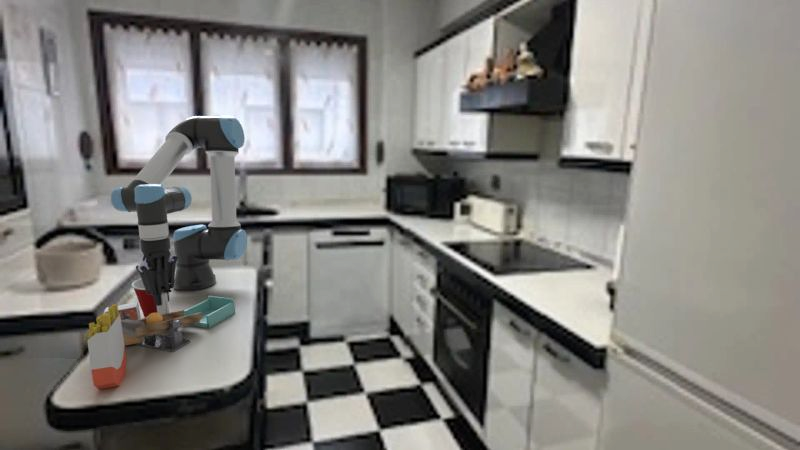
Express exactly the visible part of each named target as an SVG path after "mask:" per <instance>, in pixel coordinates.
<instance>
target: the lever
mask: <svg viewBox="0 0 800 450" xmlns="http://www.w3.org/2000/svg"><path fill="white" fill-rule="evenodd" d="M184 311H185V309H180V310H176V311H172V312H171V311H170V312H169V313H166V314H162V317H163V321H162V322H158V323H154V324H150V325H147V323H146V318H145V317H143V318H144V319H143V318H141V319H139V320H129V319H125V320H121V324H122V331H123V338H128V339H133V340H136V339H140V338H143V339H145V338H144V337H147V336H151V335H155V334H157V335H159V334H162V333H165V332H170V327H169V323H171V322H173V321H175V320H180V325H181V328H183V327H187V326H191V324H195V323H199V322H200V319H202V312H200V313H195V314H191V315H187V316H184Z"/></svg>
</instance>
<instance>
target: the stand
mask: <svg viewBox="0 0 800 450" xmlns="http://www.w3.org/2000/svg"><path fill="white" fill-rule="evenodd" d="M144 318H147V317H143V318H142V319H144ZM169 327H170V330H169V334H170V335H169V336H168V335H162V334H155V335H151V336H147V337H144V338H143V342H141V343H136V346H139V347H146V348H150V349H154V350H155V349H156V350H161V351H167V352H172V353H174V352H176V351H178V350H180V349H181V348H184V346H186V345H188V344H190V343H191V340H190V339H185V338H183V336H182V335H183V334H182V330H183V327H181V325H180V320H175V321H173V322H171V323H169Z"/></svg>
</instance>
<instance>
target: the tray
mask: <svg viewBox="0 0 800 450" xmlns="http://www.w3.org/2000/svg"><path fill="white" fill-rule="evenodd" d="M235 304H236V303H235V298H230V297H223V296H216V295H215V296H214V295H208V296H207V299H205V300H204V301H202V302H201V301H200V302H199V303H196V304H195V305H193V306H191V307H189V308H187V309H184V316H187V315H191V314H195V313H200V312H202V319H200V322H199V323H195V324H191V325H190V326H193V327H200V328H203V329H204V328H205V329H211V328H213V327H214V326H216V325H217V324H220V323H221V322H222V321H224V320H226V319H228V318H230V317H232V316H234V315H235V314H236V306H235Z"/></svg>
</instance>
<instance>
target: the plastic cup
mask: <svg viewBox="0 0 800 450" xmlns="http://www.w3.org/2000/svg"><path fill="white" fill-rule="evenodd" d="M169 284H170V283H169ZM131 287H132V289H134V292H135V296H136V297H137V300H138V301H137V302H138V304H139V308H140V310H141V311H142V314H143V318H145V317H147V316H148V315H149V314H151V313H157V306H156V305H155V302H154V296H153V295H148V294H147V293H146V290H145V287H144V284H143V281H142V279H141V278H138V279H136V280H134V281H133V282H132V283H131Z"/></svg>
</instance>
